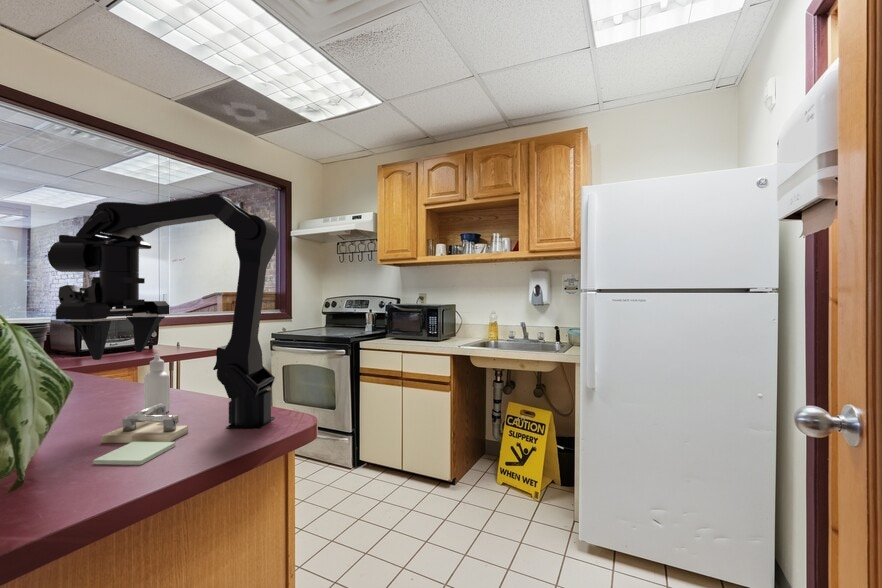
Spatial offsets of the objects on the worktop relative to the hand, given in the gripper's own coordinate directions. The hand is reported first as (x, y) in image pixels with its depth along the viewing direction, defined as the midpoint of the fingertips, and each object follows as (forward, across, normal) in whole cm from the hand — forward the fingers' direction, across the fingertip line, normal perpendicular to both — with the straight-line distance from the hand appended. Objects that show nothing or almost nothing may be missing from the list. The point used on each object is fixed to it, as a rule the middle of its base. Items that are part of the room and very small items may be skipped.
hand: (119, 355), depth 73 cm
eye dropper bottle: (+13, -8, +1) cm, 16 cm away
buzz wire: (+13, +3, +10) cm, 17 cm away
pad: (+13, +13, +14) cm, 23 cm away
